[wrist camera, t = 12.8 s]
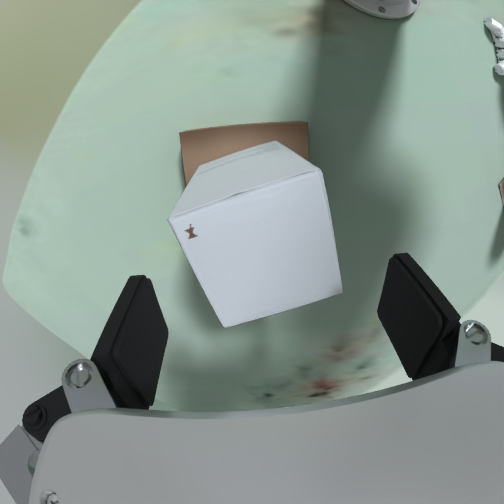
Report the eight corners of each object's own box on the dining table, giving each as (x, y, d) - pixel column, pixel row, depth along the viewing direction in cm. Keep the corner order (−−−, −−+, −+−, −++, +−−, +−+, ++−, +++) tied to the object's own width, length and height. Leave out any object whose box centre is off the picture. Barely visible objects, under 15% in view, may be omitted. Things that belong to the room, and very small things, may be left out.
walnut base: (185, 130, 24) (179, 132, 22) (300, 121, 24) (307, 122, 22) (201, 242, 30) (198, 255, 27) (302, 233, 30) (308, 246, 27)
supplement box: (225, 236, 26) (219, 332, 15) (197, 164, 23) (161, 216, 12) (300, 214, 26) (346, 296, 15) (279, 138, 22) (322, 165, 11)
